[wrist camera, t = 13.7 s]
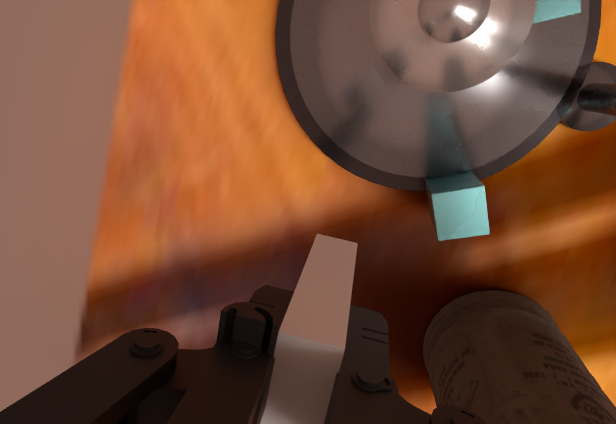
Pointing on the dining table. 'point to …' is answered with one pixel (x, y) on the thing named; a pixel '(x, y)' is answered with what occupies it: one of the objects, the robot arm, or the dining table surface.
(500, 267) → the dining table surface
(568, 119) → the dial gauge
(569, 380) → the beer stein
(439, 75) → the cover
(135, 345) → the robot arm
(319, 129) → the base plate
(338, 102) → the turntable
